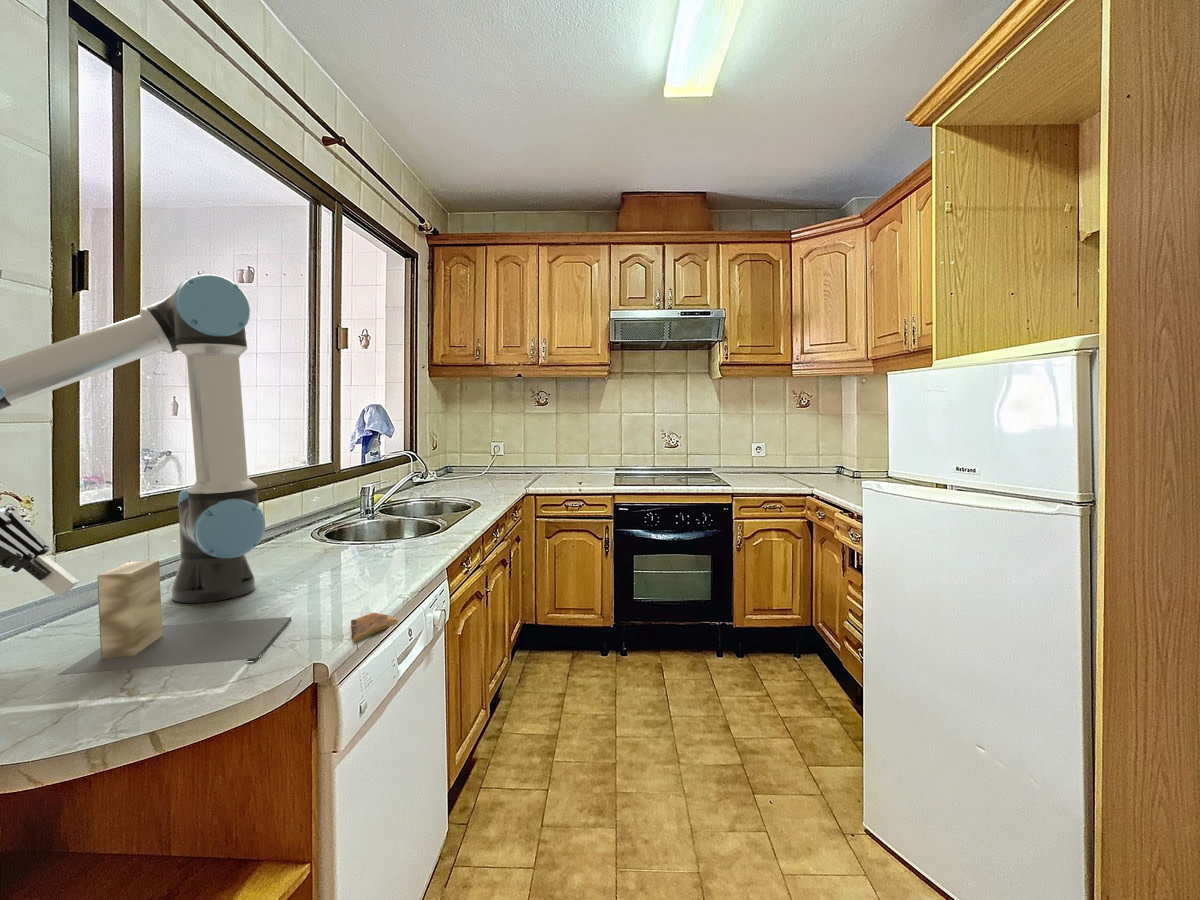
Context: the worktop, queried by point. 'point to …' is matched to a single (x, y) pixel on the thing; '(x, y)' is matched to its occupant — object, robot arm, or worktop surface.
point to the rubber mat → (193, 645)
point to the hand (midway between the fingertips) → (69, 588)
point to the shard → (370, 625)
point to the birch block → (129, 608)
